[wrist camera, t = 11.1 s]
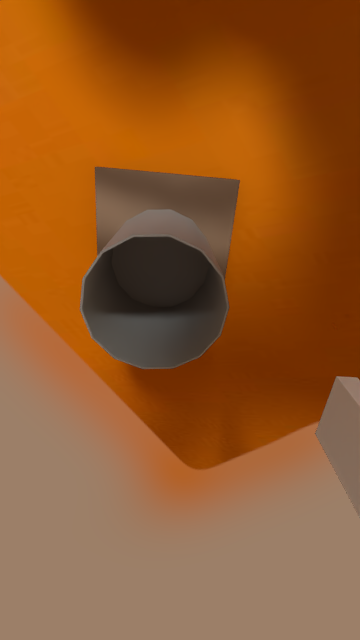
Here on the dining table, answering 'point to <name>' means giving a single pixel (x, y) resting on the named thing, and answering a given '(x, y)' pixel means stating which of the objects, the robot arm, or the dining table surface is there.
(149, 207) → the walnut board
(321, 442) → the robot arm
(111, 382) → the dining table surface
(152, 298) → the cup
